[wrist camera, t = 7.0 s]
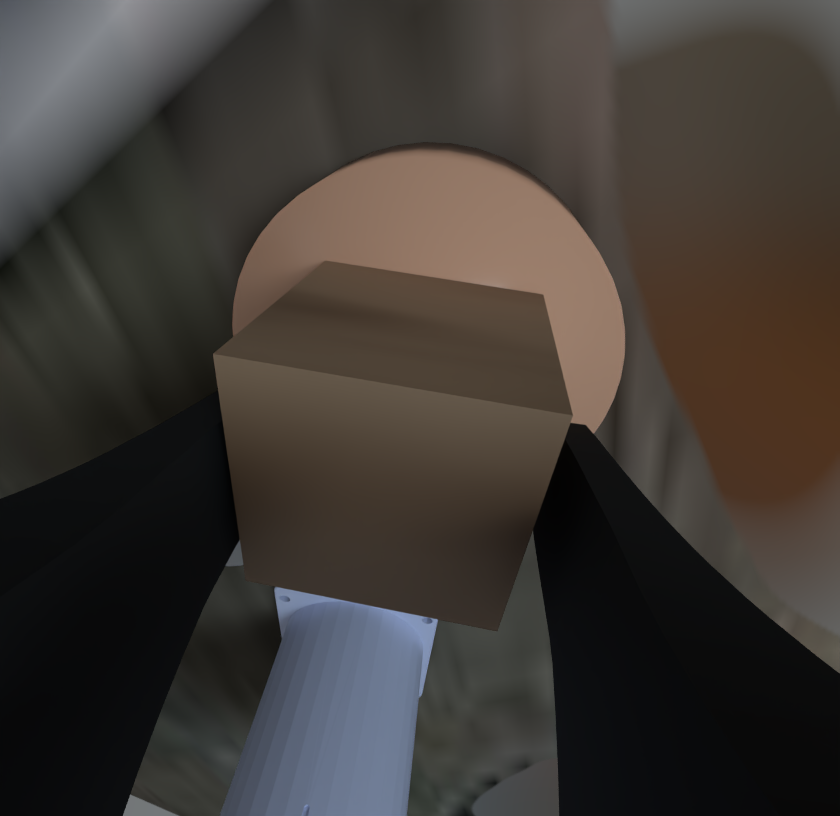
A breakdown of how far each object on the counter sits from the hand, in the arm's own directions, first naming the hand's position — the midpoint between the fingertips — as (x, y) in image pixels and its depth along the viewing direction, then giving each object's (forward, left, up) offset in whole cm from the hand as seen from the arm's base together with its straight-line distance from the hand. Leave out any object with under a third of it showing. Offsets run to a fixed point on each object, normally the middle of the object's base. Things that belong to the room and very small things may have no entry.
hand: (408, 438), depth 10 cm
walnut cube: (0, 0, -2) cm, 3 cm away
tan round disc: (0, 0, -5) cm, 5 cm away
